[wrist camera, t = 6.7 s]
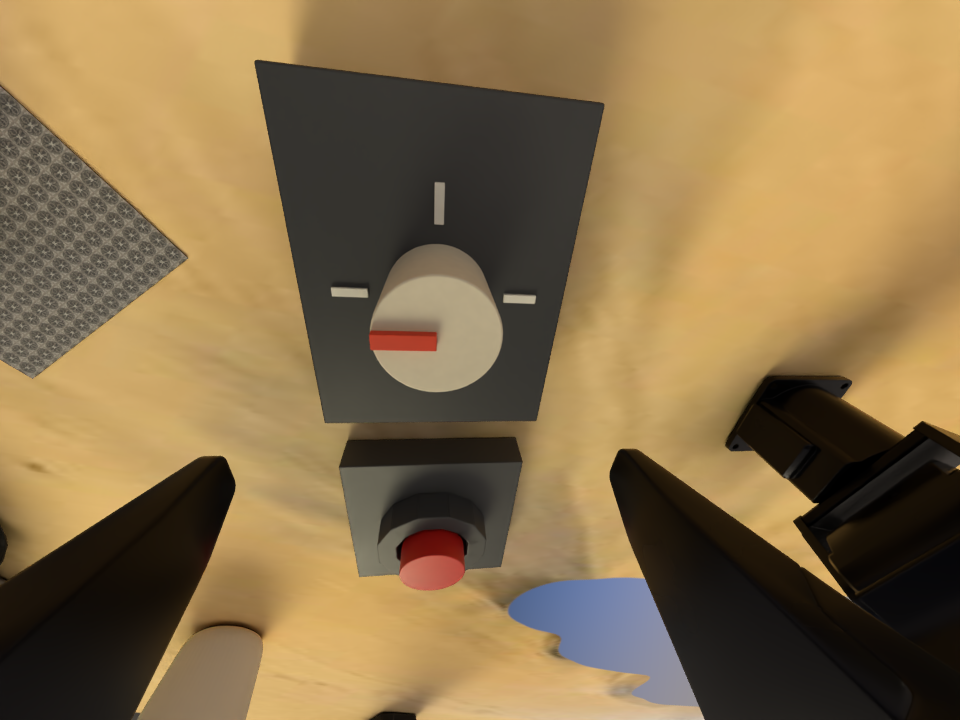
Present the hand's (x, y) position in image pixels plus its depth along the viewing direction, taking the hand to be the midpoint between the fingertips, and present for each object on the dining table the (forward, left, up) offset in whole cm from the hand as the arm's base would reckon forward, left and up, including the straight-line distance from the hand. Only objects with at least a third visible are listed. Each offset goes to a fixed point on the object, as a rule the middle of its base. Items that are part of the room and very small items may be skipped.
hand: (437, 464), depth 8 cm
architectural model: (+20, -4, -11) cm, 23 cm away
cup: (+20, +36, -11) cm, 43 cm away
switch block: (0, +16, -11) cm, 19 cm away
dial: (0, -1, -8) cm, 8 cm away
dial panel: (0, -1, -11) cm, 11 cm away
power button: (0, +16, -7) cm, 17 cm away
